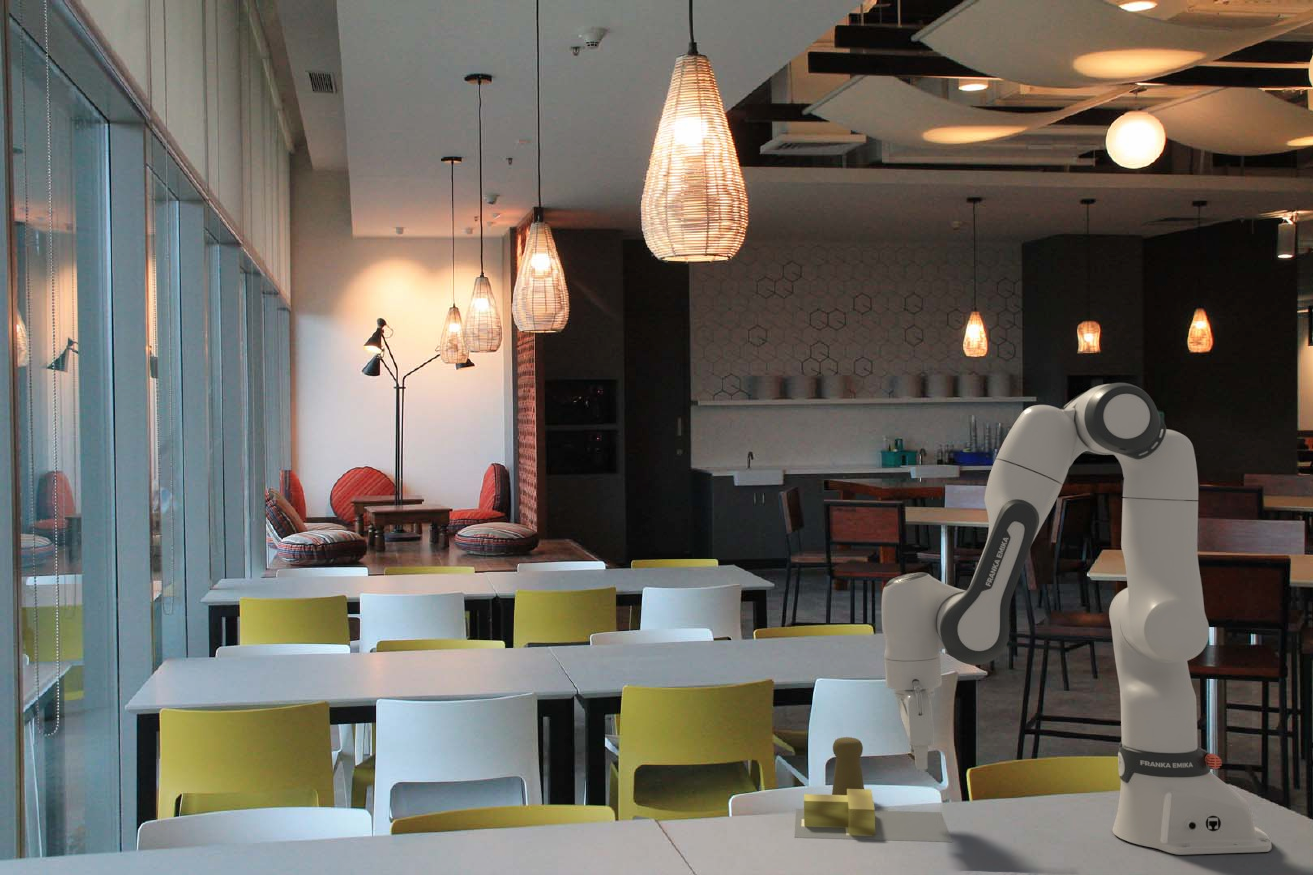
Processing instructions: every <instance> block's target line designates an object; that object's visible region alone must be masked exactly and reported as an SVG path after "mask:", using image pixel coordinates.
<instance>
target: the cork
mask: <svg viewBox="0 0 1313 875" xmlns="http://www.w3.org/2000/svg"><path fill="white" fill-rule="evenodd" d="M863 750H864V747H863V744H862V742H861V740H859V739H858V738H855V737H850V736H845V737H839V738H837V739H836V738H835V741H834V742H833V744H832V752H833V754H834V756H835V766H834V772H833V773H834V774H833V783H832V792H831V795H847V789H865V783H864V778H863V777H864V776H863V773H862V765H861V756H862V755H863Z"/></svg>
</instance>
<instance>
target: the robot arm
mask: <svg viewBox="0 0 1313 875" xmlns="http://www.w3.org/2000/svg"><path fill="white" fill-rule="evenodd" d="M1081 454H1088V455H1103V456H1105V455H1106V456H1108V455H1109V456H1110V455H1113V456H1115V458H1116V459H1117V460H1118V463H1119V464H1120V466H1121V470H1122V475H1123V476H1122V477H1123V485H1122V486H1123V487H1122V497H1123V498H1122V509H1121V511H1122V512H1121V536H1120V537H1121V541H1120V546H1121V551H1122V555H1123V559H1124V566H1125V574H1126V581H1127V587H1126V588H1123V589H1122V590H1121V591H1119V592H1118V593H1117V594H1115V596H1114V597H1113V599H1112V600H1111V603H1110V606H1109V610H1108V615H1109V616H1108V617H1109V622H1110V626H1111V636H1112V645H1113V653H1114V659H1115V660H1114V662H1115V665H1116V666H1115V667H1116V673H1117V680H1118V684H1119V695H1120V696H1119V697H1120V722H1121V723H1120V728H1121V732H1120V733H1121V741H1120V742H1119V743H1118V752H1117V759H1118V760H1117V761H1118V762H1117V763H1118V766H1117V768H1118V775H1119V778H1120V788H1119V789H1120V790H1119V800H1118V806H1117V812H1116V816H1115V820H1114V824H1113V827H1112V833H1113V834H1114V835H1115V836H1116V837H1118V838H1120V839H1121V840H1124V841H1127V842H1129V843H1132V844H1136V845H1139V846H1142V847H1143V846H1144V847H1148V848H1153V849H1157V850H1160V851H1163V852H1166V853H1169V854H1174V855H1183V856H1184V855H1205V854H1206V855H1207V854H1210V855H1211V854H1237V853H1239V854H1240V853H1241V854H1242V853H1243V854H1244V853H1265V852H1270V851H1271V850H1272V848H1273V847H1272V840H1271V838H1270V837H1269V836H1268V834H1267V833H1266V832H1264V831H1263V830H1261V829H1260V828H1258V827H1257V826H1255V822H1254V816H1253V814H1252V810H1251V808H1250V805H1249V803H1248V802H1247V801H1246V799H1245V798H1244V797H1243V796H1241V795H1240V794H1239V793H1238V792H1237V791H1236V790H1235V789H1234V788H1232V787H1230V786H1229V784H1228V783H1226V782H1224V781H1223V780H1222V779H1220V778H1219V777H1217V775H1215V774H1214V773H1212V772H1211V770H1212V769H1213V770H1218V769H1220V768H1221V767H1220V766H1222V763H1223V762H1222V759H1221V758H1220V757H1219V756H1218V755H1216V754H1215V753H1213V752H1212V753H1210V752H1209V751H1207V750H1205V749H1203V748H1201V747H1200V746H1198V712H1197V711H1198V710H1197V706H1198V705H1197V696H1196V693H1195V689H1194V687H1193V684H1192V683H1193V682H1192V680H1191V674H1190V669H1189V664H1188V661H1190V660H1192V659H1194V658H1196V657H1197V656H1199V655H1200V654H1201V653H1202V652H1203V651H1204V649H1206V646H1207V644H1208V641H1209V638H1210V626H1209V621H1208V619H1207V615H1206V612H1205V605H1204V594H1203V585H1202V577H1201V574H1200V573H1201V572H1200V565H1199V556H1198V527H1199V526H1198V523H1199V522H1198V521H1199V520H1198V519H1199V479H1198V468H1197V461H1196V454H1195V449H1194V445H1193V443H1192V442H1191V440H1190V439H1189V438H1188V437H1187V436H1186V435H1184V434H1182V433H1181V432H1178V431H1176V430H1173V429H1167V426H1166V424H1165V422H1164V420H1163V419H1162V417H1161V415H1160V414H1159V412H1158V409H1157V406H1156V405H1155V402H1154V400H1153V399H1152V398H1151V396H1150V395H1149V394H1148V393H1147V392H1146V391H1145V390H1143V389H1142V388H1140V387H1138V386H1136V385H1133V384H1131V383H1127V382H1115V383H1114V382H1113V383H1106V384H1101V385H1097V386H1094V387H1092V388H1090V389H1088V390H1087V391H1084V392H1082V393H1080V394H1078V395H1077V396H1075V397H1074V398H1073V399H1071V400H1070V401H1069V402H1067V403H1066V404H1065V405H1064V406H1062V407H1061V408H1058V407H1056V406H1052V405H1048V404H1037V405H1036V404H1035V405H1032V406H1029V407H1027V408H1025V409H1024V410H1023V411H1022V412H1021V413H1020V415H1019V416H1018V418H1017V419H1016V421H1015V422H1014V424H1013V425H1012V427H1011V428H1010V430H1009V431H1008V434H1007V436H1006V437H1005V438H1004V441H1003V443H1002V444H1001V447H1000V448H999V451H998V453H997V455H996V457H995V459H994V462H993V465H992V466H991V471H990V472H989V475H988V478H987V479H988V480H987V484H986V487H985V492H984V498H983V500H984V504H985V509H986V513H987V514H986V515H987V519H988V521H987V522H988V532H987V533H988V534H987V539H986V543H985V546H984V548H983V550H982V554H981V556H980V559H979V560H978V564H977V566H976V569H975V571H974V574H973V577H972V579H971V582H970V585H969V587H968V588H967V589H966V590H964V589H962V588H961V589H960V588H957V587H954V586H953V585H949V584H947V583H945V582H942V581H940V580H938V579H937V578H935V577H934V576H932V575H931V574H929V573H928V572H912V573H906V574H902V575H899V576H897V577H893V578H892V579H890V580H889V581H888V582H887V583H886V584H885V585H884V587H883V589H882V594H881V630H882V634H883V636H884V641H885V649H884V654H883V657H884V659H883V660H884V674H885V686H886V687H887V688H889V689H891V690H893V691H894V697H895V698H897V703H898V704H897V705H898V709H899V710H898V711H899V712H900V713H899V714H900V718H901V720H902V723H903V726H904V729H905V732H906V734H907V738H908V741H909V748H910V754H911V755H912V756H914V764H915V768H916V770H918V771H926V770H928V768H929V766H928V755H929V754H928V753H929V746H932V745H933V744H934V742H935V735H934V732H935V731H934V721H933V712H932V711H933V709H932V701H931V698H933V697H935V695H936V694H935V689H936V688H939V687H941V686H942V685H943V679H942V668H941V667H942V665H941V651H942V650H945V651H947V653H948V654H949V655H950V656H952V658H954V659H955V660H956V661H959V662H960V663H962V664H967V665H972V666H979V665H980V666H981V665H985V664H988V663H990V662H993V661H994V660H996V659H997V658H998V657H1000V655H1002V653H1003V652H1004V651H1005V649H1006V647H1007V644H1008V643H1009V637H1010V605H1011V602H1012V598H1013V595H1014V591H1015V590H1016V587H1017V584H1018V582H1019V578H1020V575H1021V573H1022V571H1023V569H1024V565H1025V563H1026V560H1027V558H1028V555H1029V552H1030V549H1031V547H1032V544H1033V542H1034V541H1035V539H1036V538H1037V535H1038V534H1039V531H1040V530H1041V528H1042V526H1043V524H1044V523H1045V520H1047V518H1048V515H1049V514H1050V512H1051V510H1052V509H1053V506H1054V504H1055V502H1056V501H1057V499H1058V496H1059V495H1060V493H1061V490H1062V487H1063V484H1064V483H1065V480H1066V478H1067V475H1068V473H1069V468H1071V466H1072V465H1073V463H1074V461H1075V460H1076V459H1077V458H1078V457H1079V456H1080V455H1081Z"/></svg>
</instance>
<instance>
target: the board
mask: <svg viewBox="0 0 1313 875" xmlns="http://www.w3.org/2000/svg"><path fill="white" fill-rule="evenodd" d="M794 823H795V824H794V838H795V839H796V838H797V839H825V840H827V839H828V840H830V839H831V840H858V841H859V840H862V841H867V840H868V841H900V842H903V841H905V842H929V843H930V842H931V843H932V842H933V843H939V842H940V843H953V839H952V836H951V835H950V832H949V830H948V826H947V823H946V821H945V819H944V816H943V813H942V812H941V811H911V810H910V811H906V810H905V811H904V810H903V811H900V810H875V835H849V827H822V826H804V808H795V822H794Z"/></svg>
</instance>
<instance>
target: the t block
mask: <svg viewBox="0 0 1313 875" xmlns="http://www.w3.org/2000/svg"><path fill="white" fill-rule="evenodd" d="M803 809H804V826H822V827H849V835H875V811H876V809H875V804H874V798H873V793H872V789H871V788H864V789H847V795H832V794H815V793H814V794H812V793H809V794H807V793H804V795H803Z"/></svg>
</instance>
